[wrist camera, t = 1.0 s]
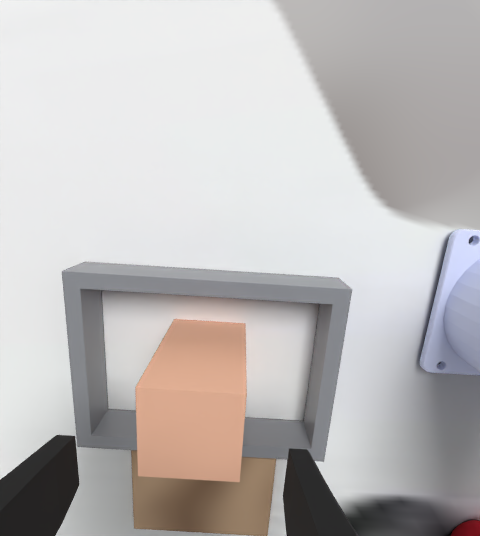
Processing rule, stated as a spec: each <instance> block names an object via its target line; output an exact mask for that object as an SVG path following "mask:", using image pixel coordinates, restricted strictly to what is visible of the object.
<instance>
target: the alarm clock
mask: <svg viewBox="0 0 480 536" xmlns="http://www.w3.org/2000/svg"><path fill="white" fill-rule="evenodd" d="M451 536H480V521H478V520H470V521H467V522H464V523H462V524H460V525H458V526H457V527H456V528H455V529H454V530H453V532H452V533H451Z"/></svg>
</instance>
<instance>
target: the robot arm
mask: <svg viewBox="0 0 480 536" xmlns="http://www.w3.org/2000/svg"><path fill="white" fill-rule="evenodd" d="M471 236H473V241H472V243H470V244H469V239H470V237H471ZM439 362H441V364H440V365H438V366H437V364H438V363H439ZM420 366H421V367H422V368H423V369H424V370H425V371H426V372H430V373H445V374H462V375H478V376H480V230H467V229H458V230H456V231H454V232H453V233H452V234H451V235H450V237H449V241H448V245H447V249H446V253H445V257H444V262H443V266H442V270H441V274H440V278H439V282H438V287H437V291H436V295H435V299H434V303H433V308H432V312H431V316H430V320H429V324H428V329H427V333H426V337H425V341H424V345H423V349H422V354H421V358H420ZM78 486H79V475H78V464H77V453H76V442H75V436H65V435H56V436H55V437H54V438H52V439H51V440H50V441H48V442H47V443H46V444H45V445H43V446H42V447H41V448H40V449H38V450H37V451H36V452H35V453H33V454H32V455H31V456H30V457H28V458H27V459H26V460H25V461H24V462H22V463H21V464H20V465H18V466H17V467H16V468H15V469H13V470H12V471H11V472H10V473H8V474H7V475H6V476H5V477H3V478H2V479H1V480H0V536H55V535H56V533H57V531H58V529H59V528H60V526H61V524H62V522H63V520H64V518H65V516H66V513H67V511H68V509H69V507H70V505H71V502H72V500H73V498H74V496H75V493H76V491H77V489H78ZM283 501H284V513H285V523H286V534H287V536H358V534H357V533H356V531H355V530H354V528H353V527H352V525H351V523H350V522H349V520H348V519H347V517H346V515H345V514H344V512H343V510H342V509H341V507H340V506H339V504H338V502H337V501H336V499H335V497H334V496H333V494H332V492H331V491H330V489H329V487H328V485H327V484H326V482H325V480H324V478H323V476H322V475H321V473H320V471H319V469H318V467H317V465H316V463H315V462H314V460H313V458H312V456H311V454H310V452H309V451H308V450H307V449H293V448H289V452H288V460H287V468H286V476H285V484H284V492H283Z"/></svg>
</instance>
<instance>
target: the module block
mask: <svg viewBox="0 0 480 536" xmlns="http://www.w3.org/2000/svg"><path fill="white" fill-rule="evenodd" d="M135 390H136V425H137V459H138V476H143V477H160V478H177V479H193V480H210V481H227V482H240V472H241V459H242V447H243V434H244V421H245V408H246V396H247V389H246V332H245V323H230V322H214V321H198V320H182V319H174V320H173V322H172V324H171V326H170V328H169V329H168V331H167V333H166V335H165V336H164V338H163V340H162V342H161V343H160V345H159V347H158V349H157V350H156V352H155V354H154V356H153V358H152V359H151V361H150V363H149V365H148V366H147V368H146V370H145V372H144V373H143V375H142V377H141V379H140V380H139V382H138V384H137V386H136V387H135Z"/></svg>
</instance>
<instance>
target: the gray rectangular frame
mask: <svg viewBox="0 0 480 536" xmlns="http://www.w3.org/2000/svg"><path fill="white" fill-rule="evenodd" d="M62 280H63V291H64V302H65V313H66V324H67V335H68V346H69V357H70V368H71V380H72V391H73V402H74V413H75V424H76V435H77V446H78V447H89V448H106V449H123V450H137V425H136V411H130V410H113V409H108V400H107V382H106V364H105V347H104V329H103V311H102V294H101V290H110V291H126V292H142V293H158V294H174V295H190V296H206V297H222V298H238V299H254V300H270V301H286V302H302V303H318V304H320V306H319V313H318V321H317V328H316V335H315V342H314V350H313V357H312V364H311V371H310V379H309V386H308V393H307V400H306V408H305V415H304V421H295V420H278V419H262V418H245V421H244V434H243V447H242V457H256V458H273V459H288V452H289V448H293V449H307V450H308V451H309V452H310V454H311V456H312V458H313V460H314V461H323V462H324V458H325V452H326V446H327V439H328V433H329V427H330V421H331V415H332V409H333V403H334V397H335V391H336V385H337V379H338V373H339V366H340V360H341V354H342V348H343V342H344V336H345V330H346V324H347V318H348V312H349V306H350V300H351V293H352V289H351V288H350V287H349V286H347V285H346V284H345V283H344V282H343V281H342V280H340V279H339V278H333V277H317V276H301V275H285V274H270V273H254V272H238V271H222V270H206V269H190V268H175V267H159V266H143V265H127V264H111V263H95V262H83V263H81V264H78V265H76V266H73V267H71V268H68V269H66V270H63V271H62Z"/></svg>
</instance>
